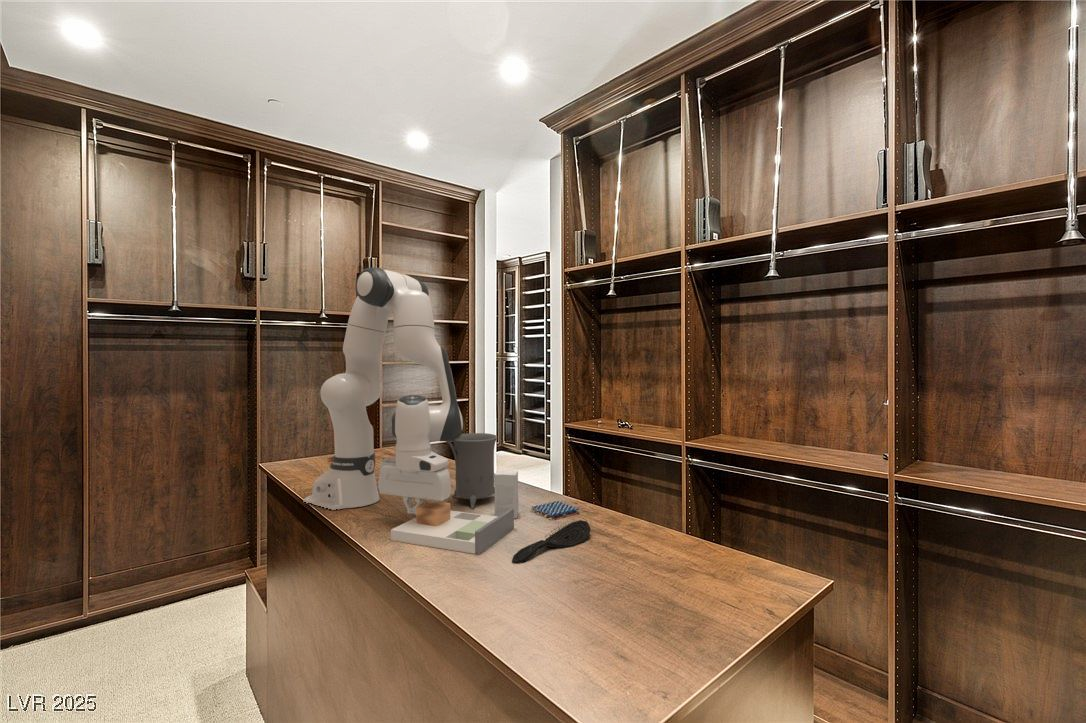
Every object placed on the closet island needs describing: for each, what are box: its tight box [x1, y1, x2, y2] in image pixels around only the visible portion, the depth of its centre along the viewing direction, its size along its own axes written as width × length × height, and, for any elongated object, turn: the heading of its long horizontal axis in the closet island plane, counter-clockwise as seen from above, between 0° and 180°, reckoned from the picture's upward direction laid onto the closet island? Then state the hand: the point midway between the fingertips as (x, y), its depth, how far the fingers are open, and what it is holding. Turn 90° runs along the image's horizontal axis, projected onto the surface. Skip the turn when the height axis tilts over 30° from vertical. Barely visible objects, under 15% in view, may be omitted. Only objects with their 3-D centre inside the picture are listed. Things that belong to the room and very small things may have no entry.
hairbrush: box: [511, 517, 591, 565], centre depth 117 cm, size 8×4×25 cm
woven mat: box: [530, 500, 581, 521], centre depth 142 cm, size 10×11×2 cm
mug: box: [446, 432, 498, 510], centre depth 153 cm, size 19×15×25 cm
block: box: [415, 500, 451, 526], centre depth 127 cm, size 6×6×4 cm
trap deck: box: [390, 508, 515, 555], centre depth 125 cm, size 24×18×5 cm
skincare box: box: [494, 470, 520, 520], centre depth 139 cm, size 6×4×12 cm
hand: (414, 513), depth 130 cm, fingers closed
